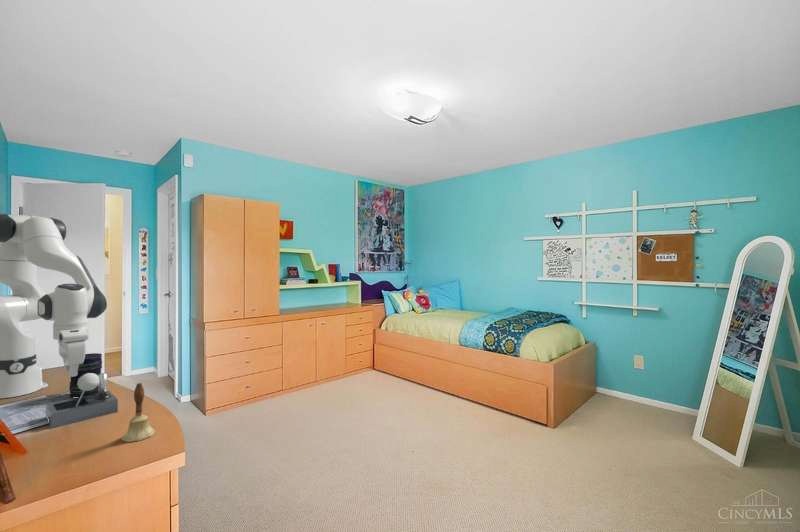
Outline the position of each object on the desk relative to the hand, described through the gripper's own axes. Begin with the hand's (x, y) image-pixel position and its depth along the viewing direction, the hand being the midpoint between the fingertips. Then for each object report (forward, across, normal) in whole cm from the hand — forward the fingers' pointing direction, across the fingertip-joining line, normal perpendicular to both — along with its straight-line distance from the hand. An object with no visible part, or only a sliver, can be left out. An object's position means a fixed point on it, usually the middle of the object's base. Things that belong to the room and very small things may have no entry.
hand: (70, 372), depth 124 cm
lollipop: (+15, +1, 0) cm, 15 cm away
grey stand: (+15, 0, +3) cm, 15 cm away
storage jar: (+15, -24, +8) cm, 30 cm away
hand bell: (+15, +32, +11) cm, 37 cm away
